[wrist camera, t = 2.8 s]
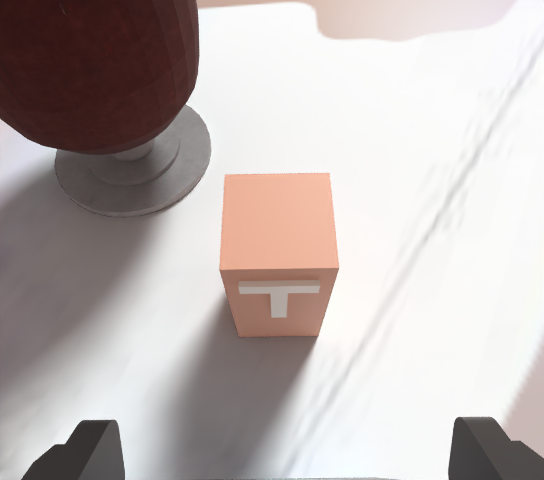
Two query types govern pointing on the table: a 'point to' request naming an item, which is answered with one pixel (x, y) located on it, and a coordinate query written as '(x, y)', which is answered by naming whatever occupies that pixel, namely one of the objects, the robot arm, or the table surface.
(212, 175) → the table surface
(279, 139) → the table surface
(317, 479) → the slate screen
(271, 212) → the terracotta block
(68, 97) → the mate gourd
